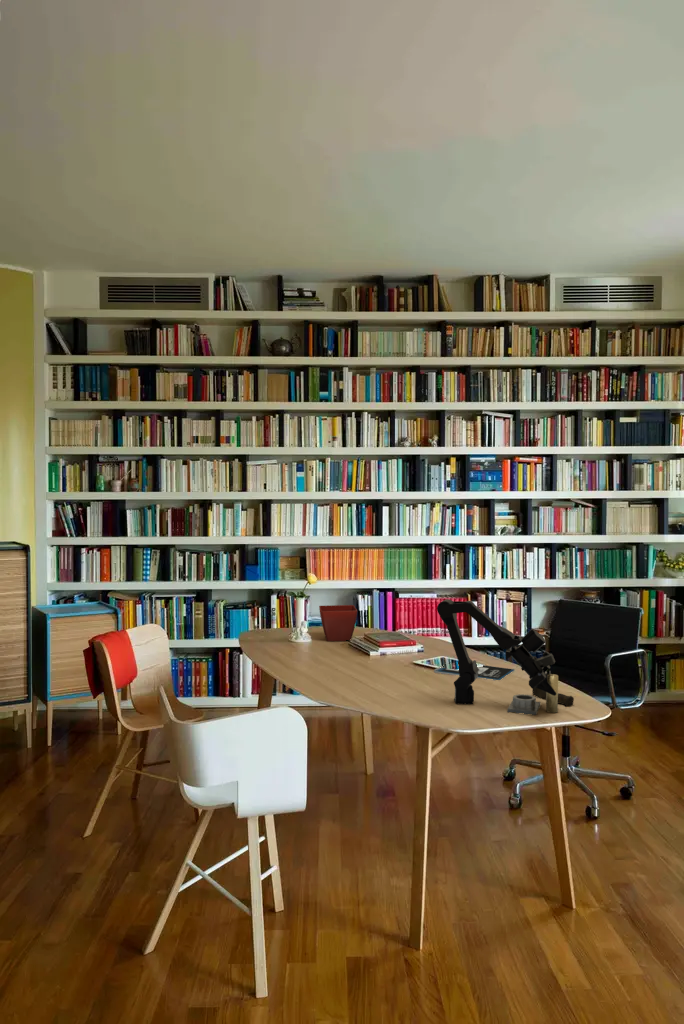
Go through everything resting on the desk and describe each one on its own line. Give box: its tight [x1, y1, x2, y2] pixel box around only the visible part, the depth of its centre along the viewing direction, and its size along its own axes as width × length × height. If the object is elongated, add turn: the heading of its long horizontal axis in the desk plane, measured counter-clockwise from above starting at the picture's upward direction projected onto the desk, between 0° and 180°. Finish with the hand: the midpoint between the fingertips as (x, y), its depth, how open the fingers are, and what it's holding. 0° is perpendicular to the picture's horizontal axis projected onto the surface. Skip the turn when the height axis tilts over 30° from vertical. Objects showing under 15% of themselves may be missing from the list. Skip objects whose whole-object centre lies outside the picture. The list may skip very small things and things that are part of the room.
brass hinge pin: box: [545, 673, 559, 714], centre depth 279 cm, size 4×4×13 cm
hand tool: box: [532, 687, 575, 708], centre depth 294 cm, size 19×4×5 cm, turn 30°
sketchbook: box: [433, 664, 515, 681], centre depth 340 cm, size 22×30×2 cm
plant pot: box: [318, 604, 358, 642], centre depth 412 cm, size 19×19×17 cm
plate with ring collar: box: [506, 693, 541, 716], centre depth 282 cm, size 10×14×4 cm
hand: (556, 693), depth 278 cm, fingers closed on brass hinge pin, 4 cm apart
